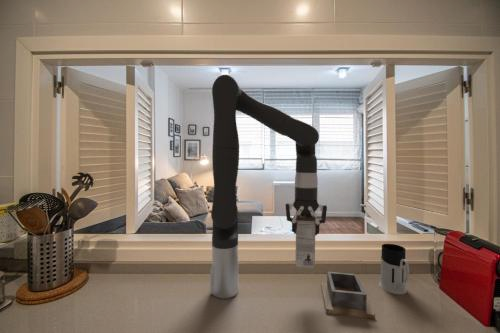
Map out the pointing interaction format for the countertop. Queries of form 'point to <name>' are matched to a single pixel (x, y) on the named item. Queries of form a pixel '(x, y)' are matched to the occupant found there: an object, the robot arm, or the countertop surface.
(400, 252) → the glass holder
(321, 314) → the countertop surface
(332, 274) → the dock
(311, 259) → the coffee box
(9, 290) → the countertop surface
